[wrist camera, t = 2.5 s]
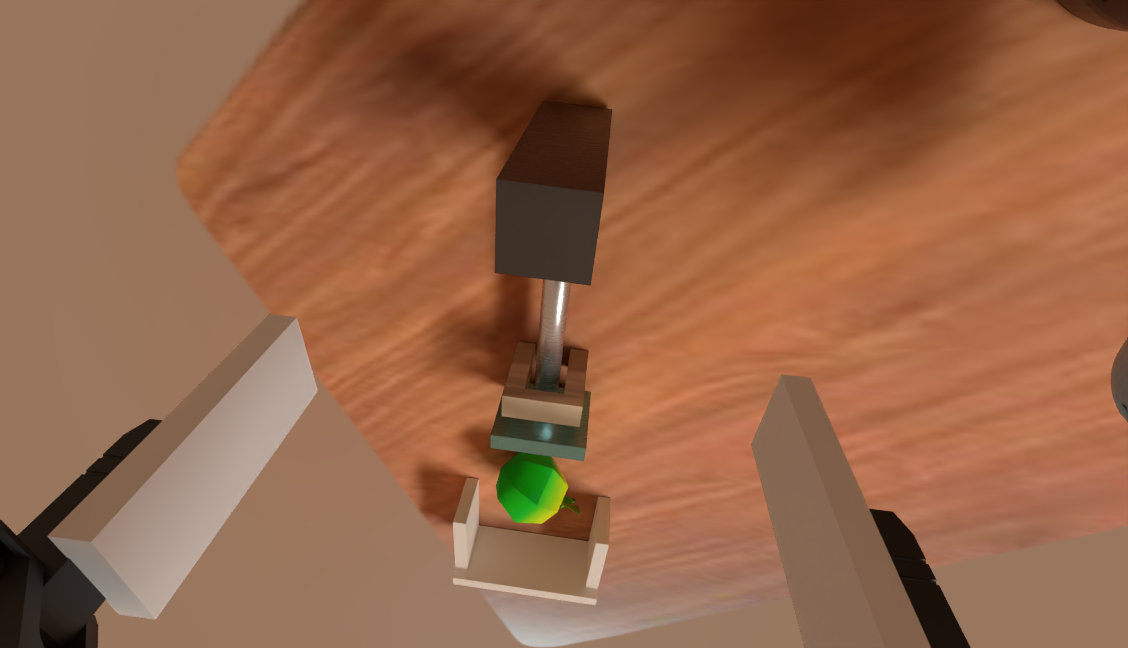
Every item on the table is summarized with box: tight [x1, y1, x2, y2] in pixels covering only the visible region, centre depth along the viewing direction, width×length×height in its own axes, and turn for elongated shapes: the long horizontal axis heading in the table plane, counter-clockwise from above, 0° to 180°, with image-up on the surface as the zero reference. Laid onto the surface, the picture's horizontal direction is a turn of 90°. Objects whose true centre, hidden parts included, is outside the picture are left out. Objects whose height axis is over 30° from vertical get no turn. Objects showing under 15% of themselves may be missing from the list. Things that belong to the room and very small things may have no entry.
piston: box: [491, 101, 612, 461], centre depth 31 cm, size 23×7×13 cm, turn 175°
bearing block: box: [502, 341, 588, 427], centre depth 38 cm, size 2×6×6 cm, turn 85°
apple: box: [496, 452, 581, 524], centre depth 47 cm, size 7×6×9 cm
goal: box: [453, 477, 610, 605], centre depth 51 cm, size 9×14×6 cm, turn 85°
